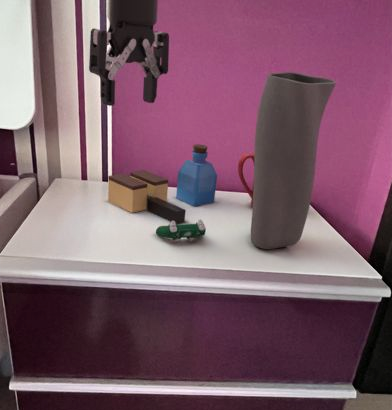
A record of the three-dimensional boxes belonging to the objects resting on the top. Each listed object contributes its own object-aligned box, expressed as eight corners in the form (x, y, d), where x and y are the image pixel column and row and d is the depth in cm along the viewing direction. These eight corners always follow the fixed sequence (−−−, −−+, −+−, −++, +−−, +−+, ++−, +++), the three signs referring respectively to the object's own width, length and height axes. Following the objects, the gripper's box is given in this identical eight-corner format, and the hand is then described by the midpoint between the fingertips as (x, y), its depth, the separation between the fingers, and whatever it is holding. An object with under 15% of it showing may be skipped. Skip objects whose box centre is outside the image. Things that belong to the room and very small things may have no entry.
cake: (131, 213, 118) (132, 186, 115) (108, 201, 122) (108, 175, 119) (166, 204, 124) (168, 179, 121) (142, 194, 128) (143, 169, 125)
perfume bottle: (194, 206, 125) (199, 151, 118) (176, 198, 128) (180, 144, 122) (214, 202, 129) (220, 148, 122) (195, 194, 132) (201, 141, 126)
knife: (184, 221, 116) (185, 207, 115) (176, 224, 115) (177, 209, 113) (128, 196, 126) (129, 183, 125) (120, 198, 125) (120, 184, 123)
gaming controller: (157, 248, 108) (166, 236, 103) (153, 229, 109) (162, 216, 103) (201, 245, 111) (212, 233, 106) (197, 227, 112) (208, 214, 106)
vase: (265, 259, 104) (297, 83, 88) (227, 235, 112) (250, 70, 96) (314, 251, 110) (352, 84, 94) (275, 228, 118) (304, 72, 102)
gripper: (110, -16, 76) (109, 111, 85) (185, -9, 85) (176, 105, 94) (77, -21, 80) (79, 101, 89) (151, -13, 89) (146, 97, 98)
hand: (129, 103), depth 92 cm, fingers open, 8 cm apart
